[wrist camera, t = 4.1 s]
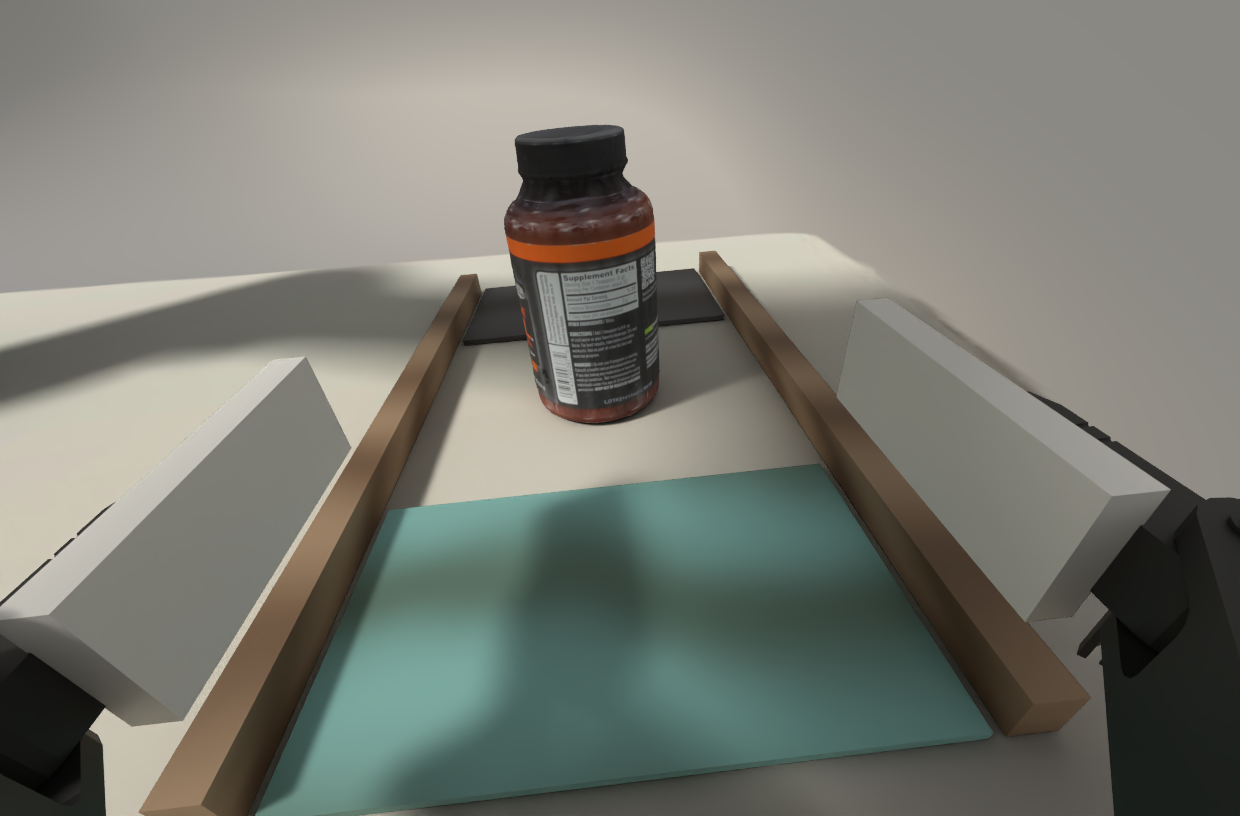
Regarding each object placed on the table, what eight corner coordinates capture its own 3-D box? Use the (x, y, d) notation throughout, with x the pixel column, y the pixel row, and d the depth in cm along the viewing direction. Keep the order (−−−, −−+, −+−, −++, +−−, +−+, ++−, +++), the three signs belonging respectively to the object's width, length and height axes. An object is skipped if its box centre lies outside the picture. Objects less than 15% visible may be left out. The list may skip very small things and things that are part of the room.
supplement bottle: (544, 369, 26) (499, 130, 20) (652, 359, 26) (643, 117, 20) (533, 435, 21) (470, 145, 15) (667, 423, 21) (662, 129, 15)
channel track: (1059, 730, 11) (1090, 697, 10) (183, 836, 10) (138, 811, 9) (714, 270, 37) (715, 250, 36) (465, 294, 37) (460, 275, 36)
